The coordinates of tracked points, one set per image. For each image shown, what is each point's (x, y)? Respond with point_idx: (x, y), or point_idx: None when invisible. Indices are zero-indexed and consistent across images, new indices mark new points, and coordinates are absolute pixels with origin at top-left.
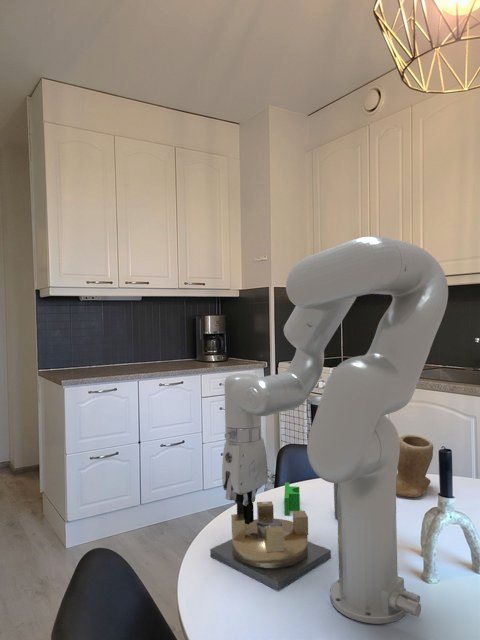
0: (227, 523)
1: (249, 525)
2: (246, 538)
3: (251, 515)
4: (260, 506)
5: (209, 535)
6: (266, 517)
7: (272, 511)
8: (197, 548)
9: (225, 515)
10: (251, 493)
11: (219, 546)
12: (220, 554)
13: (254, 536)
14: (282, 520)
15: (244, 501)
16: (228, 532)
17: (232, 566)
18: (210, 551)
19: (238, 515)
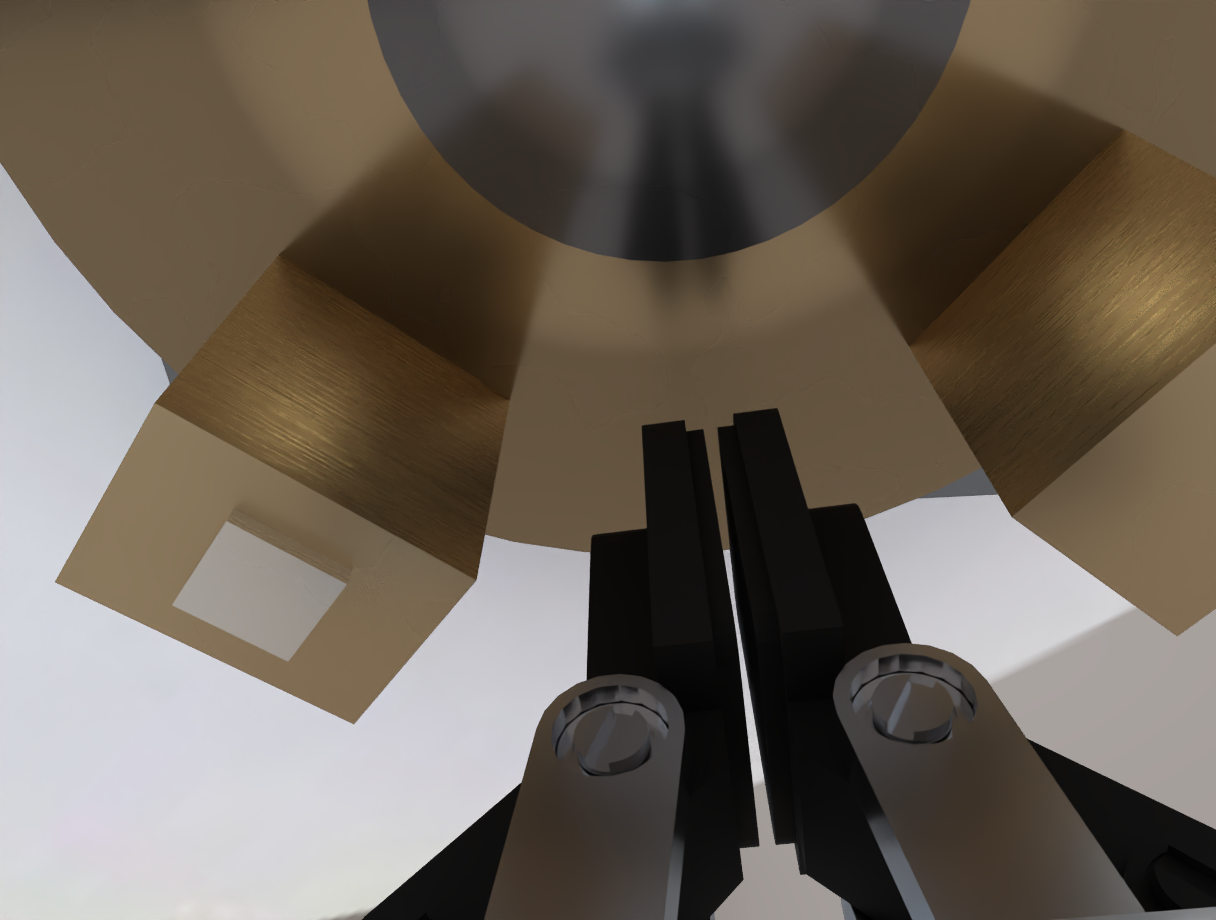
0: (459, 796)
1: None
2: (1100, 118)
3: (696, 489)
4: (435, 553)
5: (754, 736)
6: (372, 369)
7: (227, 352)
8: (1027, 634)
9: (372, 896)
10: (673, 886)
11: None
12: None
13: (946, 74)
14: (83, 209)
15: (1003, 734)
16: (577, 679)
17: None
18: None
19: (1139, 524)
